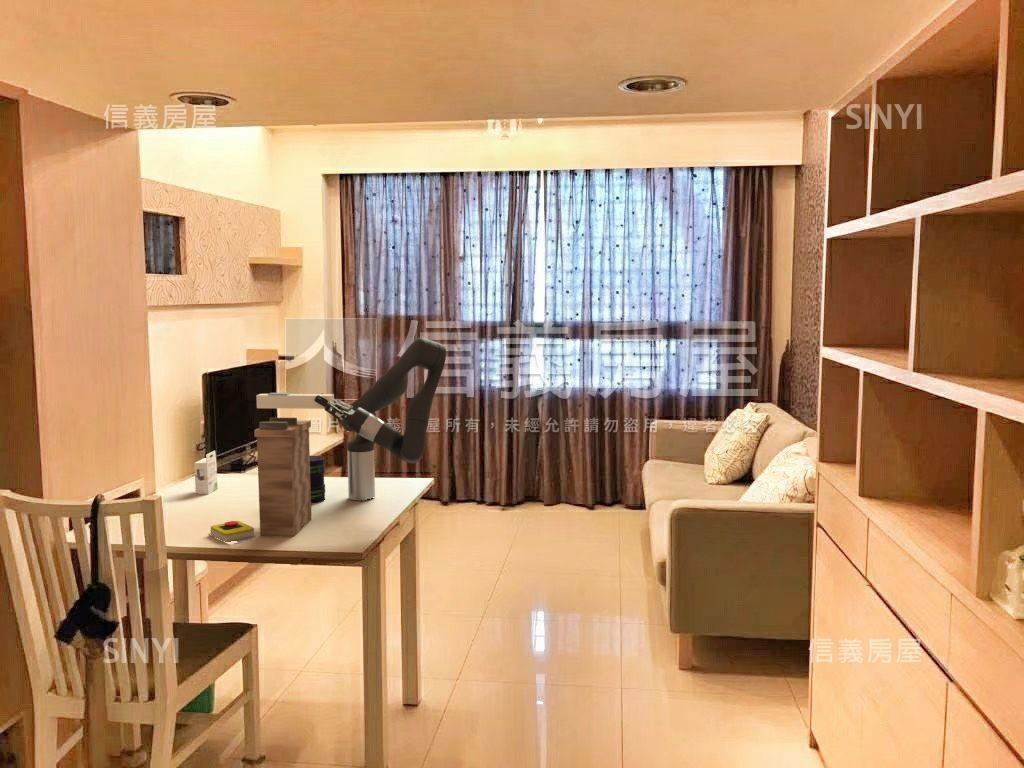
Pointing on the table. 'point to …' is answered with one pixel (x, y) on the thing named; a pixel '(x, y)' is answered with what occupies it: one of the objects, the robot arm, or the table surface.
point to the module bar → (291, 400)
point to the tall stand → (283, 476)
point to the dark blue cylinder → (317, 479)
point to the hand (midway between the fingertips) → (318, 396)
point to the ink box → (206, 474)
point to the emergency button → (233, 531)
